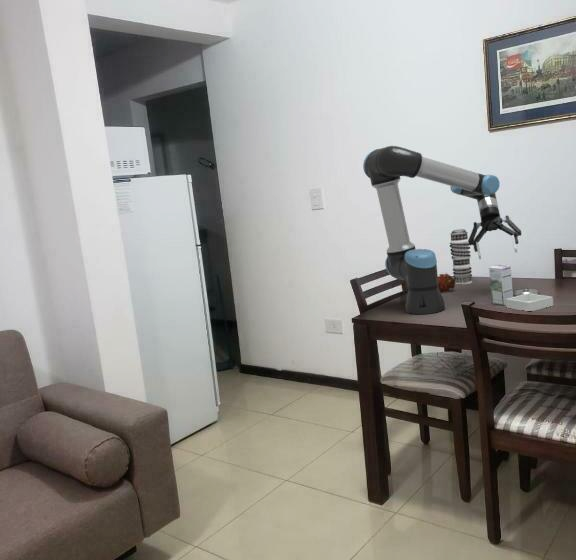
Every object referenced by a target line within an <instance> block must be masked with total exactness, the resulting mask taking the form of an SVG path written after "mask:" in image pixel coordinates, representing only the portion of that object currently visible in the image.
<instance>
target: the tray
mask: <svg viewBox="0 0 576 560" xmlns="http://www.w3.org/2000/svg"><path fill="white" fill-rule="evenodd" d="M550 306H551V307H553V306H554V297H553V296H550V295H543V294H540V295H536V294H529V293H528V294H524V295H520V296H516V297H512V298H508V299H506V305H505V308H506V307H507V308H506V309H510V308H511V310H517V311H522V310H524V311H523V312H527V311H532V312H536V311H538V310H539V311H540V310H542V309H547V308H551V307H550ZM546 307H547V308H546Z"/></svg>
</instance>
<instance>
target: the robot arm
mask: <svg viewBox="0 0 576 560" xmlns="http://www.w3.org/2000/svg"><path fill="white" fill-rule="evenodd" d="M362 166H363V172H364V174H365V175H366V176H367V177H368V178H369V179H370V184H371V187H373V188H374V189H375V190H376V193H377V197H378V202H379V205H380V210H381V211H380V212H381V215H382V220H383V225H384V229H385V233H386V238H387V241H388V242H387V243H388V248H387V250H386V255H387V257H386V259H385V263H384V264H385V265H384V266H385V270H386V272H387V273H388V274H389V275H390V276H391V277H393V278H395V279H396V280H400V281H404V282H405V281H406V283H407V296H406V302H405V306H404V307H405V312H406V313H408V314H411V313H412V314H413V315H428V314H434V313H439V312H442V311H444V310H446V302H445V300H444V298H443V295H442V292H440V291H439V286H438V276H439V275H438V266H437V263H438V262H437V258H436V253H435V251H433V250H430V249H427V248H425V249H424V248H423V249H422V248H417V249H416V246H415V245H416V244H415V243H413V242H411V239H410V236H409V231H408V226H407V222H406V217H405V212H404V207H403V202H402V197H401V194H400V188H399V183H400V181H401V177H407V178H411V179H414V178H416V177H418V178H421V179H425V180H429V181H432V182H436V183H439V184H442V185H446V186H450V191H451V192H452V193H453V194H456V195H459V196H463V197H467V198H470V199H472V200H473V199H474V200H477V207H478V212H479V216H480V222H476V221H475V222H473V228H472V230H471V233H470V235H469V236H468V243H469V246H473V250H474V252H475V253H477V255H478V259H479V260H482V257H481V251H480V244H479V242H480V241H481V240H482V238H483V237H484V235H486V234H487V232H492V231H497V230H499V231H503V233H506V234H507V235H510V237H511V240H512V244H513V248H514V253H518V248H517V245H518V244H519V239H518V237H520V236H522V230H521V229H520V228H519V227H518V226H517V225H516V224H515V223H514V222H513V221H512V220H511V218H510V217H509V215H508V214H507V215H505V217H501V214H500V213H501V212H500V209H499V204H498V201H497V199H498V198H497V195H496V193H497V192H498V191H499V189H500V185H501V184H500V183H501V182H500V179H499V178H498V177H497V175H494V174H482V173H480V172H479V173H478V172H475V171H472V170H468V169H465V168H462V167H458V166H455V165H451V164H449V163H448V164H447V163H445V162H443V161H442V162H441V161H439V160H435V159H431V158H428V157H424V156H423V155H422V153H420V152H417V151H415V150H411V149H407V148H405V147H401V146H397V145H389V146H385V147H382V148H376V149H374V150H372V151H371V152H368V154H367V155H366V156H365V158H364V160H363V165H362ZM503 222H504V223H505V224H507V225H508V226H509V227H508V226H506V225H505V224H503ZM480 227H481V229H480ZM478 229H480V231H479V232H478ZM412 314H411V315H412Z"/></svg>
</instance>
